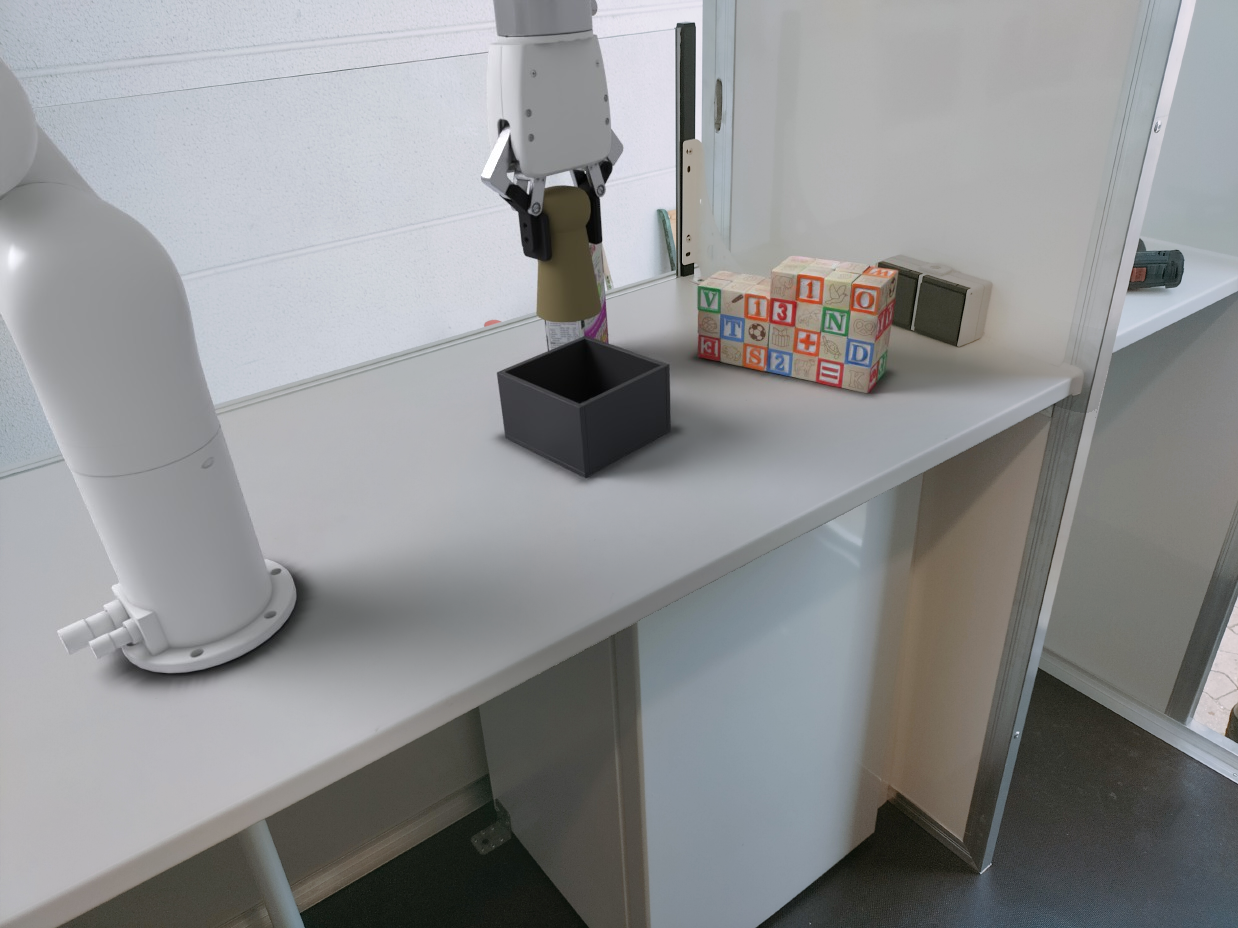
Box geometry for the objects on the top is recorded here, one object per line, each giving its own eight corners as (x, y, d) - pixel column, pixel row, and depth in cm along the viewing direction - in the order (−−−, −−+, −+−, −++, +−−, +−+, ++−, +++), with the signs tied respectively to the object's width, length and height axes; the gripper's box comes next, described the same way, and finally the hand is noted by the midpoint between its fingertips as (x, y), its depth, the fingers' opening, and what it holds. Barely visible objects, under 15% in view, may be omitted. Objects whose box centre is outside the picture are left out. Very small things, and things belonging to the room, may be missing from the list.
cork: (615, 307, 78) (609, 185, 73) (567, 327, 75) (557, 200, 69) (570, 294, 82) (560, 176, 76) (522, 313, 78) (509, 190, 73)
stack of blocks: (696, 358, 103) (695, 259, 97) (719, 340, 108) (720, 244, 102) (869, 394, 93) (881, 285, 87) (887, 372, 98) (900, 267, 91)
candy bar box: (571, 348, 108) (561, 218, 100) (610, 350, 107) (602, 219, 99) (547, 386, 99) (534, 246, 90) (589, 388, 98) (579, 247, 89)
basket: (585, 478, 81) (579, 407, 77) (505, 438, 88) (496, 372, 85) (671, 430, 88) (669, 364, 84) (590, 397, 96) (585, 335, 92)
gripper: (591, 10, 73) (603, 221, 83) (424, 29, 63) (459, 266, 73) (654, 10, 69) (660, 234, 78) (484, 30, 59) (514, 284, 68)
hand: (563, 247), depth 75 cm, fingers closed on cork, 5 cm apart
